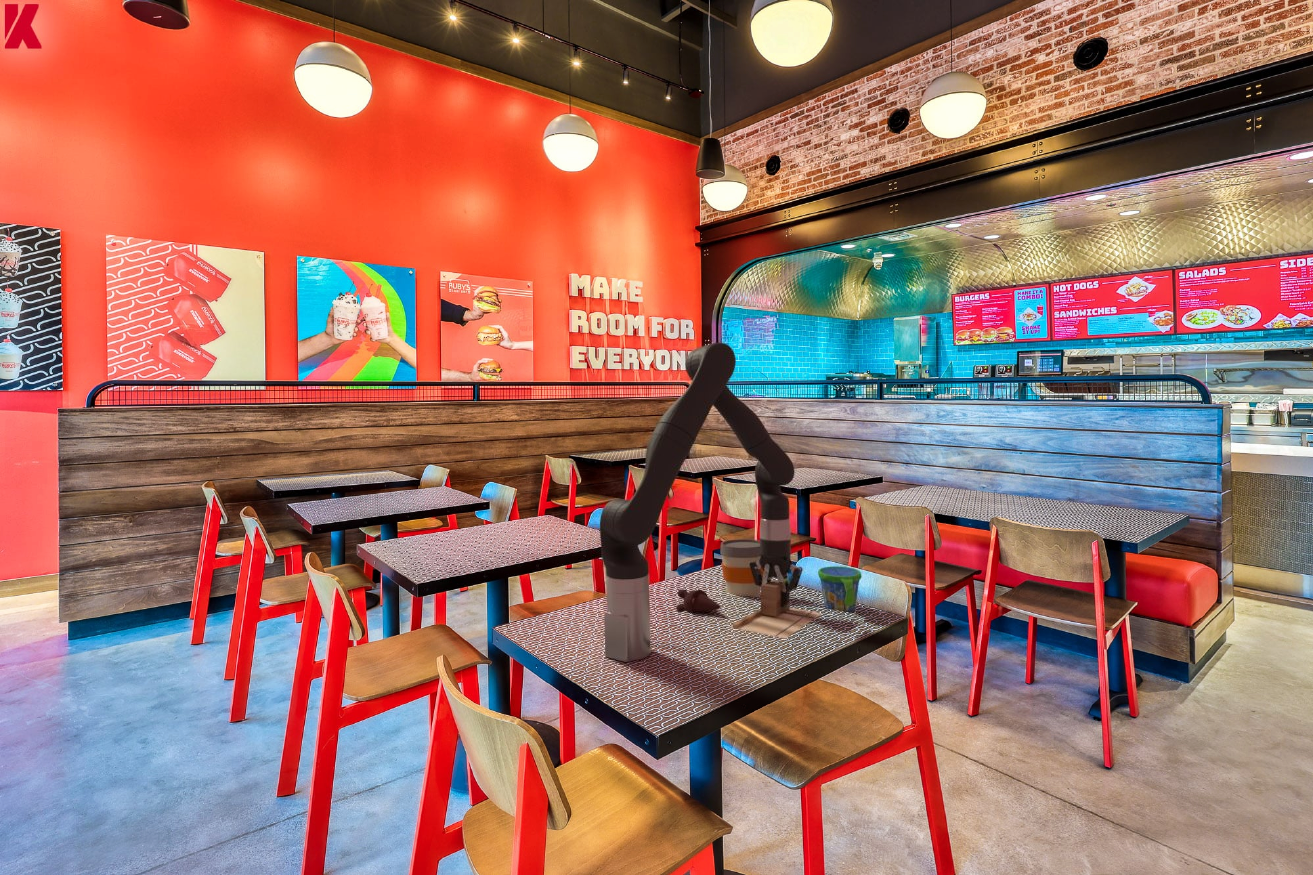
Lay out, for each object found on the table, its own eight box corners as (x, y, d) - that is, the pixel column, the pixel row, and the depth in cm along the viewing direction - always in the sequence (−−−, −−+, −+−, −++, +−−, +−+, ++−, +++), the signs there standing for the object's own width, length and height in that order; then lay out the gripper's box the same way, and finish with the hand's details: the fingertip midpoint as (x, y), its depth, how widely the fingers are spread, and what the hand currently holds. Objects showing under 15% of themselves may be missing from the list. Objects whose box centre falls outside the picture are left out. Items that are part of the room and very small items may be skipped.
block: (775, 616, 153) (775, 587, 153) (760, 613, 155) (760, 585, 155) (791, 608, 160) (791, 581, 160) (776, 606, 163) (777, 579, 163)
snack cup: (869, 619, 155) (868, 578, 155) (825, 619, 156) (825, 578, 155) (853, 601, 170) (852, 563, 170) (813, 601, 171) (813, 564, 171)
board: (785, 645, 139) (785, 634, 139) (730, 633, 147) (729, 623, 147) (822, 619, 156) (822, 610, 156) (770, 610, 164) (770, 601, 164)
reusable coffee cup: (722, 603, 171) (721, 548, 171) (719, 590, 184) (718, 539, 183) (769, 602, 171) (768, 547, 170) (763, 589, 184) (762, 538, 183)
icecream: (731, 593, 158) (688, 587, 170) (711, 591, 154) (668, 585, 165) (728, 621, 157) (686, 614, 168) (708, 620, 152) (666, 613, 163)
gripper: (742, 536, 158) (743, 604, 159) (795, 541, 150) (796, 613, 150) (756, 531, 164) (757, 597, 165) (808, 536, 156) (808, 605, 156)
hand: (775, 604), depth 158 cm, fingers closed on block, 4 cm apart
